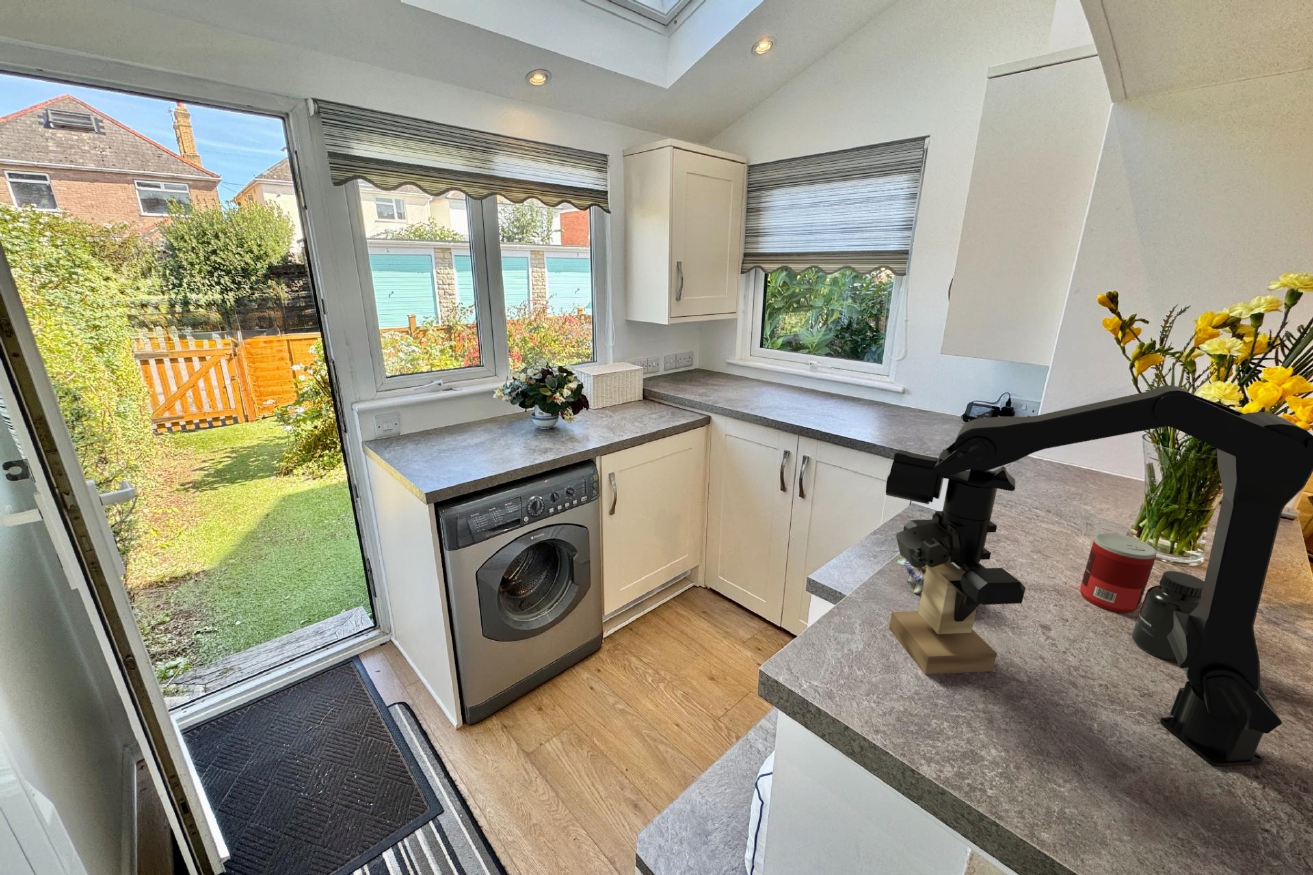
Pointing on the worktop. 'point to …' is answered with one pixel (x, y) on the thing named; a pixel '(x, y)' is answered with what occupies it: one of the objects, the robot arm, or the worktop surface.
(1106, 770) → the worktop surface
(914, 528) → the robot arm
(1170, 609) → the supplement bottle
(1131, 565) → the canned food
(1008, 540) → the worktop surface
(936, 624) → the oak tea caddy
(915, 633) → the walnut block
